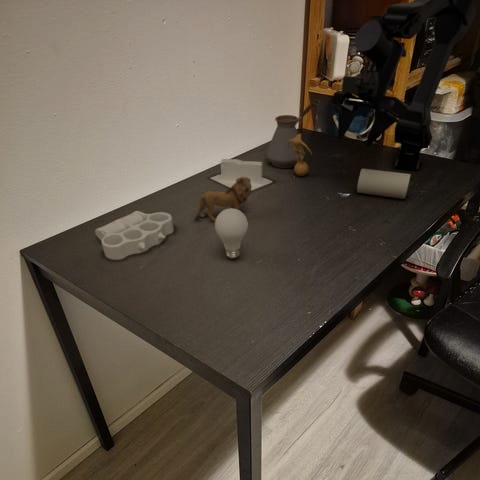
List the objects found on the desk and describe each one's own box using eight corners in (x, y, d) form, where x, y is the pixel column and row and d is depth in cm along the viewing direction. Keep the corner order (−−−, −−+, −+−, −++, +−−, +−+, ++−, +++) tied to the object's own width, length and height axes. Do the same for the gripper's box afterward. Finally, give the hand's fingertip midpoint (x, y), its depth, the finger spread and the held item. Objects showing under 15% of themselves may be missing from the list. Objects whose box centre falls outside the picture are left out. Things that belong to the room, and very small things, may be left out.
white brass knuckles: (147, 215, 105) (186, 233, 98) (84, 244, 95) (123, 268, 88) (144, 202, 103) (185, 220, 96) (80, 231, 93) (120, 254, 86)
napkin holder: (273, 181, 118) (274, 161, 114) (243, 194, 113) (243, 173, 109) (238, 167, 127) (237, 147, 123) (209, 178, 121) (207, 158, 117)
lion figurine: (247, 206, 107) (247, 171, 101) (255, 215, 103) (255, 180, 98) (192, 217, 104) (188, 182, 98) (197, 227, 100) (194, 191, 94)
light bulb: (252, 252, 91) (252, 204, 84) (242, 268, 86) (241, 220, 79) (223, 247, 93) (220, 200, 86) (212, 263, 88) (208, 215, 81)
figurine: (316, 177, 119) (320, 133, 112) (304, 184, 116) (307, 139, 108) (293, 169, 124) (295, 127, 116) (280, 176, 121) (282, 132, 113)
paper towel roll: (359, 187, 114) (363, 165, 110) (406, 193, 110) (411, 170, 106) (355, 196, 109) (359, 173, 105) (404, 202, 106) (409, 179, 102)
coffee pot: (288, 173, 122) (291, 118, 112) (258, 164, 128) (258, 111, 118) (328, 152, 133) (334, 100, 124) (299, 144, 139) (302, 95, 129)
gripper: (329, 54, 95) (303, 125, 101) (394, 56, 82) (360, 138, 88) (359, 74, 102) (334, 140, 108) (423, 78, 89) (390, 153, 94)
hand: (352, 142), depth 99 cm, fingers open, 9 cm apart
